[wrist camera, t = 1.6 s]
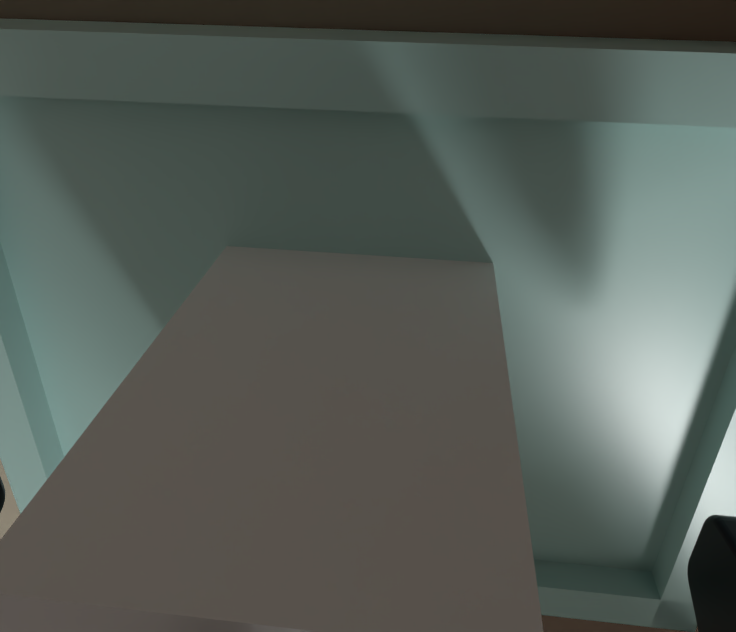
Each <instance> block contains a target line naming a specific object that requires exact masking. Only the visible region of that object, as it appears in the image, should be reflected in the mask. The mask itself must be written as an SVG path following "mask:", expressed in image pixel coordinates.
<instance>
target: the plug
mask: <svg viewBox="0 0 736 632" xmlns="http://www.w3.org/2000/svg"><path fill="white" fill-rule="evenodd" d="M0 632H544V631H543V624H542V617H541V609H540V602H539V595H538V587H537V580H536V573H535V565H534V558H533V551H532V543H531V536H530V529H529V521H528V514H527V507H526V499H525V492H524V485H523V478H522V470H521V463H520V456H519V448H518V441H517V434H516V426H515V419H514V412H513V404H512V397H511V390H510V382H509V375H508V368H507V360H506V353H505V346H504V338H503V331H502V324H501V316H500V309H499V302H498V294H497V287H496V280H495V272H494V265H493V263H484V262H469V261H453V260H438V259H422V258H406V257H391V256H375V255H360V254H344V253H328V252H313V251H297V250H281V249H266V248H250V247H235V246H226V248H225V249H224V250H223V251H222V253H221V254H220V255H219V257H218V258H217V259H216V261H215V262H214V263H213V264H212V266H211V267H210V268H209V270H208V271H207V272H206V274H205V275H204V276H203V277H202V279H201V280H200V281H199V283H198V284H197V285H196V287H195V288H194V289H193V290H192V292H191V293H190V294H189V296H188V297H187V298H186V300H185V301H184V302H183V303H182V305H181V306H180V307H179V309H178V310H177V311H176V313H175V314H174V315H173V316H172V318H171V319H170V320H169V322H168V323H167V324H166V326H165V327H164V328H163V329H162V331H161V332H160V333H159V335H158V336H157V337H156V339H155V340H154V341H153V342H152V344H151V345H150V346H149V348H148V349H147V350H146V352H145V353H144V354H143V355H142V357H141V358H140V359H139V361H138V362H137V363H136V365H135V366H134V367H133V368H132V370H131V371H130V372H129V374H128V375H127V376H126V378H125V379H124V380H123V381H122V383H121V384H120V385H119V387H118V388H117V389H116V391H115V392H114V393H113V395H112V396H111V397H110V398H109V400H108V401H107V402H106V404H105V405H104V406H103V408H102V409H101V410H100V411H99V413H98V414H97V415H96V417H95V418H94V419H93V421H92V422H91V423H90V424H89V426H88V427H87V428H86V430H85V431H84V432H83V434H82V435H81V436H80V437H79V439H78V440H77V441H76V443H75V444H74V445H73V447H72V448H71V449H70V450H69V452H68V453H67V454H66V456H65V457H64V458H63V460H62V461H61V462H60V463H59V465H58V466H57V467H56V469H55V470H54V471H53V473H52V474H51V475H50V476H49V478H48V479H47V480H46V482H45V483H44V484H43V486H42V487H41V488H40V489H39V491H38V492H37V493H36V495H35V496H34V497H33V499H32V500H31V501H30V502H29V504H28V505H27V506H26V508H25V509H24V510H23V512H22V513H21V514H20V515H19V517H18V518H17V519H16V521H15V522H14V523H13V525H12V526H11V527H10V528H9V530H8V531H7V532H6V534H5V535H4V536H3V538H2V539H1V540H0Z"/></svg>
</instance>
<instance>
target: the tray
mask: <svg viewBox="0 0 736 632" xmlns="http://www.w3.org/2000/svg"><path fill="white" fill-rule="evenodd" d="M226 246H235V247H250V248H266V249H281V250H297V251H313V252H328V253H344V254H360V255H375V256H391V257H406V258H422V259H438V260H453V261H469V262H484V263H493V265H494V272H495V280H496V287H497V294H498V302H499V309H500V316H501V324H502V331H503V338H504V346H505V353H506V360H507V368H508V375H509V382H510V390H511V397H512V404H513V412H514V419H515V426H516V434H517V441H518V448H519V456H520V463H521V470H522V478H523V485H524V492H525V499H526V507H527V514H528V521H529V529H530V536H531V543H532V551H533V558H534V565H535V573H536V580H537V587H538V595H539V602H540V609H541V615H547V616H556V617H565V618H574V619H583V620H592V621H600V622H609V623H618V624H627V625H636V626H645V627H654V628H663V629H671V630H680V631H689V632H695V630H696V628H697V622H696V617H695V612H694V607H693V602H692V598H691V593H690V588H689V583H688V575H687V568H688V561H689V558H690V556H691V553H692V551H693V548H694V546H695V543H696V541H697V538H698V536H699V533H700V531H701V528H702V526H703V523H704V522H705V520H706V519H707V518H708V517H709V516H711V515H724V516H734V517H736V42H725V41H694V40H662V39H631V38H600V37H568V36H537V35H505V34H474V33H443V32H411V31H380V30H349V29H317V28H286V27H254V26H223V25H192V24H160V23H129V22H98V21H66V20H35V19H3V18H0V459H1V461H2V464H3V467H4V470H5V472H6V475H7V478H8V481H9V483H10V486H11V489H12V492H13V494H14V497H15V500H16V503H17V505H18V508H19V511H20V514H21V513H22V512H23V510H24V509H25V508H26V506H27V505H28V504H29V502H30V501H31V500H32V499H33V497H34V496H35V495H36V493H37V492H38V491H39V489H40V488H41V487H42V486H43V484H44V483H45V482H46V480H47V479H48V478H49V476H50V475H51V474H52V473H53V471H54V470H55V469H56V467H57V466H58V465H59V463H60V462H61V461H62V460H63V458H64V457H65V456H66V454H67V453H68V452H69V450H70V449H71V448H72V447H73V445H74V444H75V443H76V441H77V440H78V439H79V437H80V436H81V435H82V434H83V432H84V431H85V430H86V428H87V427H88V426H89V424H90V423H91V422H92V421H93V419H94V418H95V417H96V415H97V414H98V413H99V411H100V410H101V409H102V408H103V406H104V405H105V404H106V402H107V401H108V400H109V398H110V397H111V396H112V395H113V393H114V392H115V391H116V389H117V388H118V387H119V385H120V384H121V383H122V381H123V380H124V379H125V378H126V376H127V375H128V374H129V372H130V371H131V370H132V368H133V367H134V366H135V365H136V363H137V362H138V361H139V359H140V358H141V357H142V355H143V354H144V353H145V352H146V350H147V349H148V348H149V346H150V345H151V344H152V342H153V341H154V340H155V339H156V337H157V336H158V335H159V333H160V332H161V331H162V329H163V328H164V327H165V326H166V324H167V323H168V322H169V320H170V319H171V318H172V316H173V315H174V314H175V313H176V311H177V310H178V309H179V307H180V306H181V305H182V303H183V302H184V301H185V300H186V298H187V297H188V296H189V294H190V293H191V292H192V290H193V289H194V288H195V287H196V285H197V284H198V283H199V281H200V280H201V279H202V277H203V276H204V275H205V274H206V272H207V271H208V270H209V268H210V267H211V266H212V264H213V263H214V262H215V261H216V259H217V258H218V257H219V255H220V254H221V253H222V251H223V250H224V249H225V248H226Z"/></svg>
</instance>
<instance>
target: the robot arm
mask: <svg viewBox="0 0 736 632" xmlns="http://www.w3.org/2000/svg"><path fill="white" fill-rule="evenodd" d="M4 501H5V489H4V485H3V483H2V480H1V477H0V512H1V510H2V508H3V504H4ZM687 575H688V583H689V588H690V593H691V598H692V602H693V607H694V612H695V617H696V622H697V627H698V631H699V632H736V517H734V516H724V515H711V516H709V517H708V518H707V519H706V520H705V522H704V523H703V526H702V528H701V531H700V533H699V536H698V538H697V541H696V543H695V546H694V548H693V551H692V553H691V556H690V558H689V561H688V568H687Z"/></svg>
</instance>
